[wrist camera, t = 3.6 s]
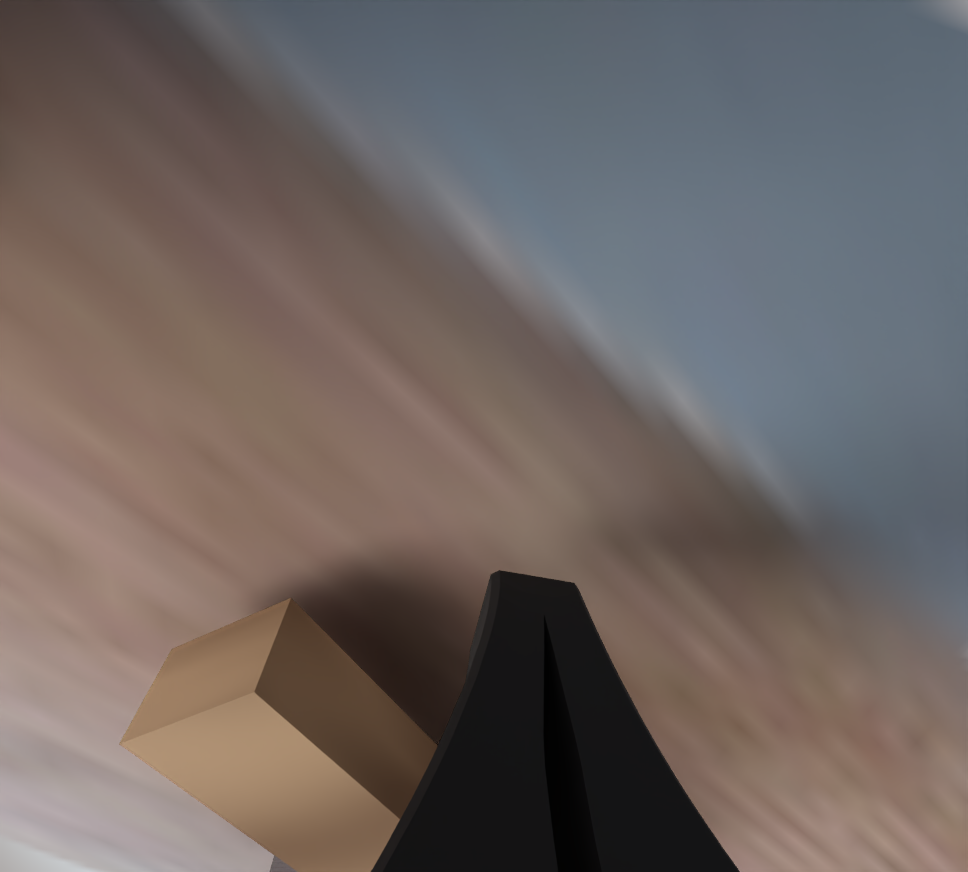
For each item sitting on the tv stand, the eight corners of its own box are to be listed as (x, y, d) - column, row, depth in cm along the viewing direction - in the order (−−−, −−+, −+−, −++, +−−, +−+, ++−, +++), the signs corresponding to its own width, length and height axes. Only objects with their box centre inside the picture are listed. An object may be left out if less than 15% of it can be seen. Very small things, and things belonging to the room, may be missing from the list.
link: (573, 870, 17) (589, 1070, 13) (455, 898, 18) (443, 1090, 14) (303, 592, 12) (225, 803, 8) (160, 654, 13) (42, 863, 9)
